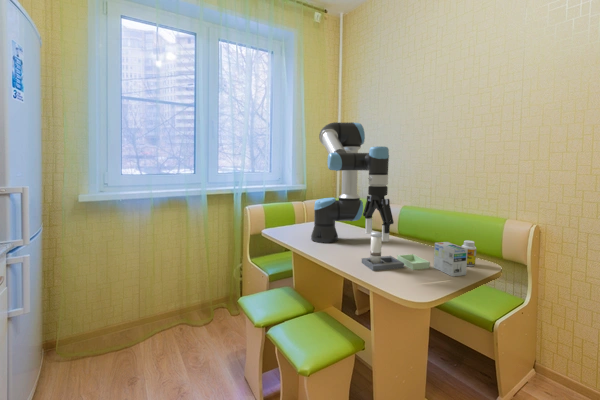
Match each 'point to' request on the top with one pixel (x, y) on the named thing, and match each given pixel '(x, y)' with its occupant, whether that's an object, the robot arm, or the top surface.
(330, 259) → the top surface
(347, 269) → the top surface
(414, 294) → the top surface
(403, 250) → the top surface
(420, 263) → the parts tray
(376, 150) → the robot arm
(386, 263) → the fuse holder
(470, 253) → the supplement bottle
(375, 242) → the cylinder
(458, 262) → the light bulb box
